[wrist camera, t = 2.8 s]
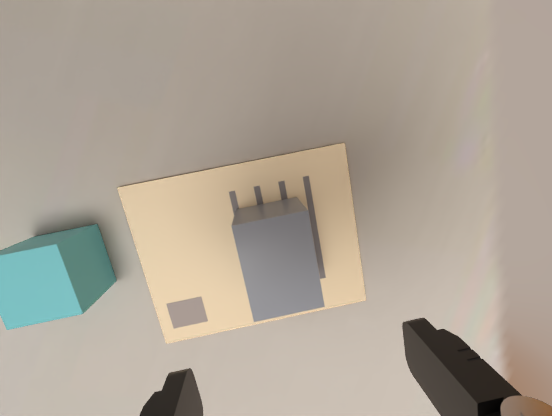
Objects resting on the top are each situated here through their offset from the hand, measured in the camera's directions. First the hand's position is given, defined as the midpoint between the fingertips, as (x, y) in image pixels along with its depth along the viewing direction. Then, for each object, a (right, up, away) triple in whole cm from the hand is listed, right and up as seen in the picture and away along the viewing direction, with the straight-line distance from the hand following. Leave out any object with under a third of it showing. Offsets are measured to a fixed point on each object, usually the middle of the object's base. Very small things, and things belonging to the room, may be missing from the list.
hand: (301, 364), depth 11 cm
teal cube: (-17, +2, +13) cm, 21 cm away
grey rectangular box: (-1, +3, +13) cm, 14 cm away
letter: (-3, +3, +14) cm, 14 cm away
